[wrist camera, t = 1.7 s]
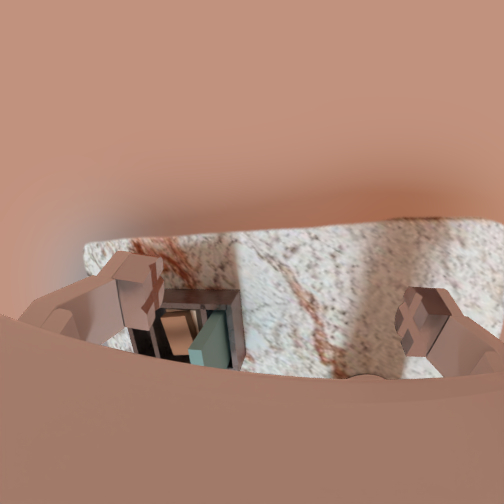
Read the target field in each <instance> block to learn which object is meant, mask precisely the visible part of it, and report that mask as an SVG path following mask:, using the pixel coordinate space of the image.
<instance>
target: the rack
mask: <svg viewBox="0 0 504 504" xmlns="http://www.w3.org/2000/svg"><path fill="white" fill-rule="evenodd" d="M166 308H179V309H200V311H201V318H202V324H203V326H204V324H205V323H206V321H207V320H208V318H209V317H210V315H211V314H212V312H213V311H214V310H226V316H227V324H228V333H229V341H230V349H231V359H230V362H229V364H228V366H227V369H228V370H235V371H240V369H241V366H242V364H243V361H244V358H245V356H246V350H245V340H244V330H243V319H242V309H241V298H240V290H201V289H164V296H163V301H162V304H161V306H160V308H159V309H157V310H156V311H155V319H154V321H153V324H152V326H151V328H150V330H149V331H146V330H140V329H134V328H128V331H129V335H130V339H131V343H132V346H133V350H134V353H136V354H141V355H145V356H150V357H155V358H160V359H165V360H171V361H176V362H182V363H188V364H191V362H190V357H189V355H173V352H172V349H171V347H170V344H169V341H168V338H167V336H166V333H165V330H164V327H163V324H162V321H161V317H162V316H163V315H164V314H165V313H166Z"/></svg>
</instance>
